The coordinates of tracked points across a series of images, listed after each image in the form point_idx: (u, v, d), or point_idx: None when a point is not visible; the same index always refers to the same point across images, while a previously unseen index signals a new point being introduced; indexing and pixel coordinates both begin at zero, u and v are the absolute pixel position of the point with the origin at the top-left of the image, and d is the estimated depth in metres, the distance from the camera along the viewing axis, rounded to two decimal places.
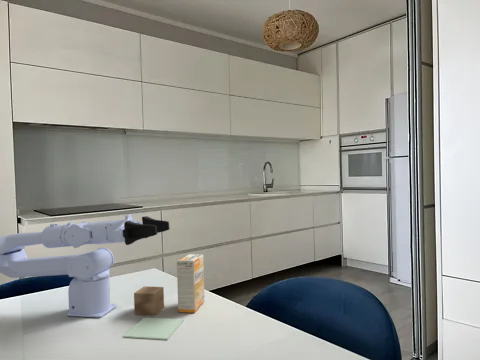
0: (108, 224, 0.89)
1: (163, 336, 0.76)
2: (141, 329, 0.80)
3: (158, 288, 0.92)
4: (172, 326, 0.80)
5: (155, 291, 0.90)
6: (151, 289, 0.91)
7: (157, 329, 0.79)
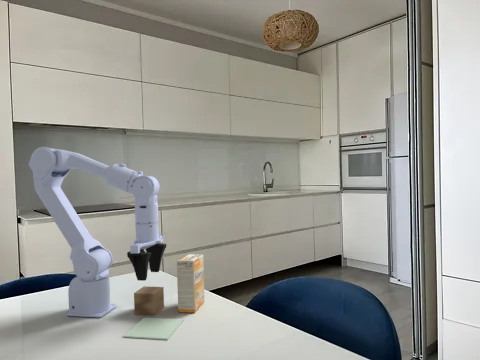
0: (151, 224, 0.89)
1: (163, 336, 0.76)
2: (141, 329, 0.80)
3: (158, 288, 0.92)
4: (172, 326, 0.80)
5: (155, 291, 0.90)
6: (151, 289, 0.91)
7: (157, 329, 0.79)
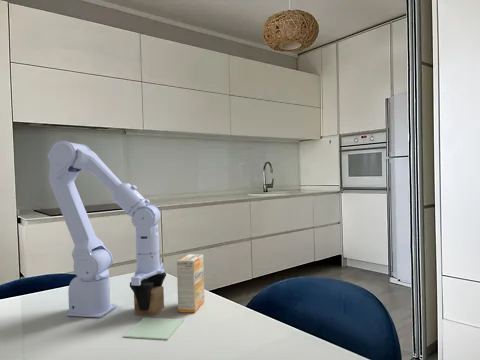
0: (152, 254, 0.89)
1: (163, 336, 0.76)
2: (141, 329, 0.80)
3: (158, 288, 0.92)
4: (172, 326, 0.80)
5: (155, 291, 0.90)
6: None
7: (157, 329, 0.79)
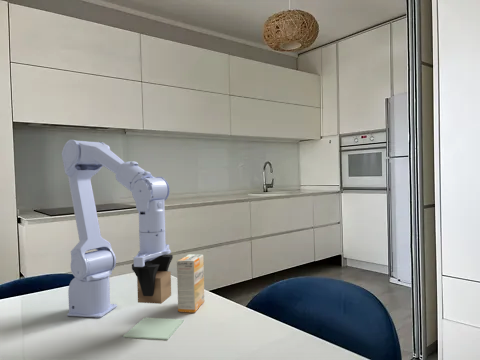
0: (157, 232, 0.78)
1: (163, 336, 0.76)
2: (141, 329, 0.80)
3: (165, 272, 0.81)
4: (172, 326, 0.80)
5: (161, 276, 0.79)
6: (157, 274, 0.80)
7: (157, 329, 0.79)
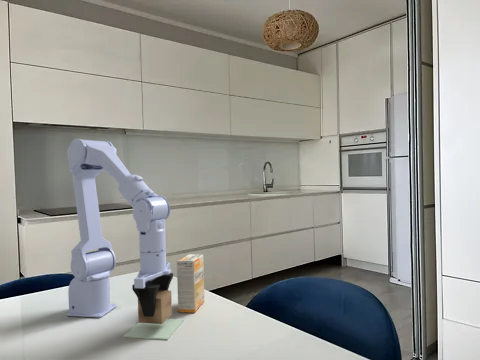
0: (158, 253, 0.78)
1: (163, 336, 0.76)
2: (141, 329, 0.80)
3: (165, 292, 0.81)
4: (172, 326, 0.80)
5: (162, 295, 0.79)
6: (157, 293, 0.80)
7: (157, 329, 0.79)
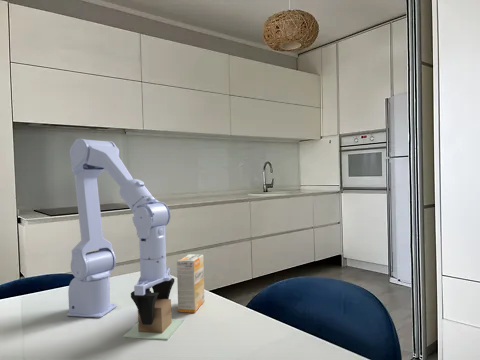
0: (158, 259, 0.78)
1: (163, 336, 0.76)
2: None
3: (165, 301, 0.81)
4: (172, 326, 0.80)
5: (162, 304, 0.79)
6: (157, 302, 0.80)
7: None
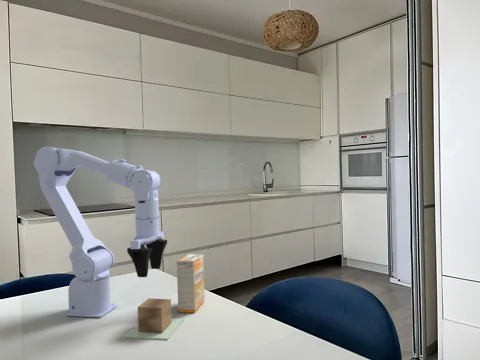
0: (152, 219, 0.87)
1: (163, 336, 0.76)
2: None
3: (165, 301, 0.81)
4: (172, 326, 0.80)
5: (162, 304, 0.79)
6: (157, 302, 0.80)
7: None
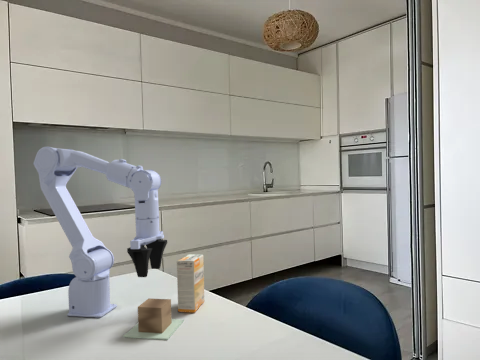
0: (152, 219, 0.87)
1: (163, 336, 0.76)
2: None
3: (165, 301, 0.81)
4: (172, 326, 0.80)
5: (162, 304, 0.79)
6: (157, 302, 0.80)
7: None
